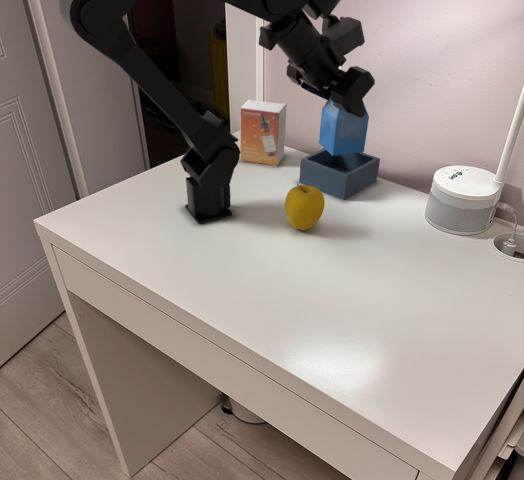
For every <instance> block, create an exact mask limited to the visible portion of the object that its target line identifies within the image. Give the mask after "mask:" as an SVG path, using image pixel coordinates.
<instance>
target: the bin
mask: <svg viewBox="0 0 524 480" xmlns="http://www.w3.org/2000/svg"><path fill="white" fill-rule="evenodd" d="M380 161H381V158H380V157H377V156H374V155H371V154H368V153H365V152H361V153H353V154H344V155H336V156H332V155H331V154H330V153H329V152H328V151H327V150H326V149H325V148H324V147H322V148H321V149H319V150H316V151H315V152H313V153H311V154H308V155H307V156H304V157H302V158H300V162H299V163H300V164H299V179H298V180H299V181H298V182H299V184H301V185H309V186H314V187H316V188H318V189H319V190H320V191H321V192H322V193H325V194H327V195H329V196H331V197H334V198H338V199H340V200H342V201H346V200H347V199H349V198H351V197H352V196H355V195H356V194H358V193H359V192H362V191H363V190H365V189H366V188H368V187H370V186H372V185H373V184H375V183H376V182H377V180H378V175H379V169H380V163H381V162H380Z"/></svg>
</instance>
